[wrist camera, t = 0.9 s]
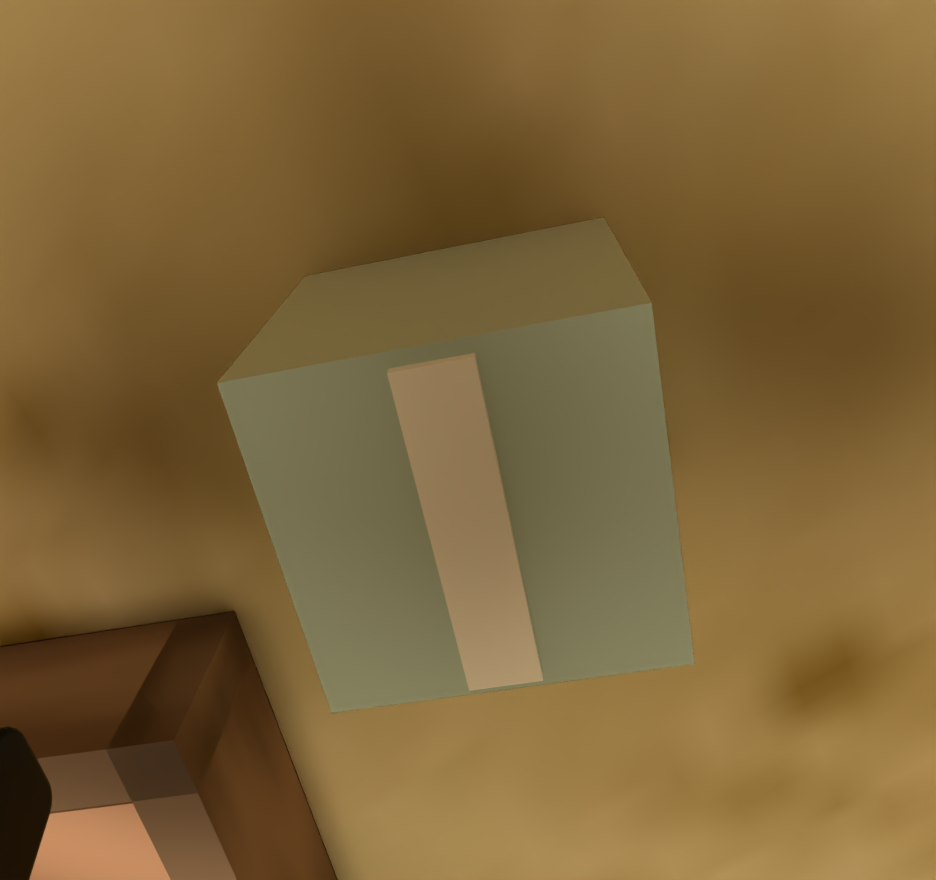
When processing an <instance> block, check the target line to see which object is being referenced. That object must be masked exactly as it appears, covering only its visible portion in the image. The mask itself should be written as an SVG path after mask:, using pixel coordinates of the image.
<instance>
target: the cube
mask: <svg viewBox="0 0 936 880" xmlns="http://www.w3.org/2000/svg"><path fill="white" fill-rule="evenodd" d="M217 385H218V388H219V391H220V394H221V397H222V400H223V403H224V405H225V408H226V411H227V414H228V417H229V420H230V423H231V426H232V428H233V431H234V434H235V437H236V440H237V443H238V446H239V449H240V451H241V454H242V457H243V460H244V463H245V466H246V469H247V472H248V474H249V477H250V480H251V483H252V486H253V489H254V492H255V495H256V497H257V500H258V503H259V506H260V509H261V512H262V515H263V518H264V520H265V523H266V526H267V529H268V532H269V535H270V538H271V541H272V543H273V546H274V549H275V552H276V555H277V558H278V561H279V564H280V566H281V569H282V572H283V575H284V578H285V581H286V584H287V587H288V589H289V592H290V595H291V598H292V601H293V604H294V607H295V610H296V612H297V615H298V618H299V621H300V624H301V627H302V630H303V633H304V635H305V638H306V641H307V644H308V647H309V650H310V653H311V656H312V658H313V661H314V664H315V667H316V670H317V673H318V676H319V679H320V681H321V684H322V687H323V690H324V693H325V696H326V699H327V702H328V704H329V707H330V710H331V713H337V712H344V711H352V710H359V709H367V708H374V707H381V706H389V705H396V704H404V703H411V702H418V701H426V700H433V699H441V698H448V697H455V696H463V695H470V694H477V693H485V692H492V691H500V690H507V689H514V688H522V687H529V686H537V685H544V684H551V683H559V682H566V681H574V680H581V679H588V678H596V677H603V676H610V675H618V674H625V673H633V672H640V671H647V670H655V669H662V668H670V667H677V666H684V665H692V664H695V661H694V653H693V644H692V636H691V628H690V619H689V611H688V602H687V594H686V586H685V577H684V569H683V560H682V552H681V544H680V535H679V527H678V518H677V510H676V502H675V493H674V485H673V477H672V468H671V460H670V451H669V443H668V435H667V426H666V418H665V409H664V401H663V393H662V384H661V376H660V367H659V359H658V351H657V342H656V334H655V325H654V317H653V309H652V302H651V300H650V299H649V297H648V295H647V293H646V291H645V290H644V288H643V286H642V284H641V283H640V281H639V279H638V277H637V275H636V274H635V272H634V270H633V268H632V267H631V265H630V263H629V261H628V260H627V258H626V256H625V254H624V252H623V251H622V249H621V247H620V245H619V244H618V242H617V240H616V238H615V236H614V235H613V233H612V231H611V229H610V228H609V226H608V224H607V222H606V220H605V219H604V217H602V218H597V219H592V220H587V221H582V222H577V223H571V224H566V225H561V226H556V227H551V228H546V229H541V230H536V231H531V232H526V233H521V234H516V235H511V236H506V237H501V238H496V239H490V240H485V241H480V242H475V243H470V244H465V245H460V246H455V247H450V248H445V249H440V250H435V251H430V252H425V253H420V254H415V255H409V256H404V257H399V258H394V259H389V260H384V261H379V262H374V263H369V264H364V265H359V266H354V267H349V268H344V269H339V270H334V271H328V272H323V273H318V274H313V275H308V276H305V277H304V278H303V279H302V280H301V282H300V283H299V284H298V285H297V287H296V288H295V289H294V290H293V291H292V293H291V294H290V295H289V296H288V297H287V299H286V300H285V301H284V302H283V303H282V305H281V306H280V307H279V308H278V310H277V311H276V312H275V313H274V314H273V316H272V317H271V318H270V319H269V320H268V322H267V323H266V324H265V325H264V326H263V328H262V329H261V330H260V331H259V332H258V334H257V335H256V336H255V337H254V339H253V340H252V341H251V342H250V343H249V345H248V346H247V347H246V348H245V349H244V351H243V352H242V353H241V354H240V355H239V357H238V358H237V359H236V360H235V362H234V363H233V364H232V365H231V366H230V368H229V369H228V370H227V371H226V372H225V374H224V375H223V376H222V377H221V378H220V380H219V381H218V382H217Z"/></svg>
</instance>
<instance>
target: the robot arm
mask: <svg viewBox="0 0 936 880" xmlns="http://www.w3.org/2000/svg"><path fill="white" fill-rule="evenodd" d="M51 808H52V789H51V785H50V783H49V780H48V778H47V777H46V775H45V773H44V771H43V769H42V767H41V765H40V764H39V762H38V760H37V758H36V756H35V754H34V752H33V751H32V749H31V747H30V745H29V743H28V741H27V740H26V738H25V736H24V735H23V733H22V732H21V731H20V730H18V729H17V728H16V727H13V726H0V880H29V879H30V876H31V873H32V870H33V867H34V863H35V860H36V857H37V854H38V851H39V847H40V844H41V841H42V838H43V835H44V831H45V828H46V825H47V822H48V819H49V815H50V812H51Z"/></svg>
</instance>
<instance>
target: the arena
mask: <svg viewBox="0 0 936 880" xmlns="http://www.w3.org/2000/svg"><path fill="white" fill-rule="evenodd" d="M0 726H13V727H16V728H17V729H18V730H20V731H21V732H22V733H23V735H24V736H25V738H26V740H27V741H28V743H29V745H30V747H31V749H32V751H33V752H34V754H35V756H36V758H37V760H38V762H39V764H40V765H41V767H42V769H43V771H44V773H45V775H46V777H47V778H48V780H49V783H50V785H51V789H52V808H51V812H50V815H49V819H48V822H47V825H46V828H45V831H44V835H43V838H42V841H41V844H40V847H39V851H38V854H37V857H36V860H35V863H34V867H33V870H32V873H31V876H30V879H29V880H337V879H336V876H335V874H334V871H333V868H332V866H331V863H330V861H329V858H328V855H327V853H326V850H325V848H324V845H323V842H322V840H321V837H320V834H319V832H318V829H317V827H316V824H315V821H314V819H313V816H312V814H311V811H310V808H309V806H308V803H307V801H306V798H305V795H304V793H303V790H302V787H301V785H300V782H299V780H298V777H297V774H296V772H295V769H294V767H293V764H292V761H291V759H290V756H289V754H288V751H287V748H286V746H285V743H284V740H283V738H282V735H281V733H280V730H279V727H278V725H277V722H276V720H275V717H274V714H273V712H272V709H271V707H270V704H269V701H268V699H267V696H266V693H265V691H264V688H263V686H262V683H261V680H260V678H259V675H258V673H257V670H256V667H255V665H254V662H253V660H252V657H251V654H250V652H249V649H248V646H247V644H246V641H245V639H244V636H243V633H242V631H241V628H240V626H239V623H238V620H237V618H236V615H235V613H234V612H230V613H223V614H216V615H210V616H203V617H197V618H190V619H183V620H177V621H170V622H163V623H157V624H150V625H144V626H137V627H130V628H124V629H117V630H111V631H104V632H97V633H91V634H84V635H77V636H71V637H64V638H58V639H51V640H44V641H38V642H31V643H24V644H18V645H11V646H5V647H0Z"/></svg>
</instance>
